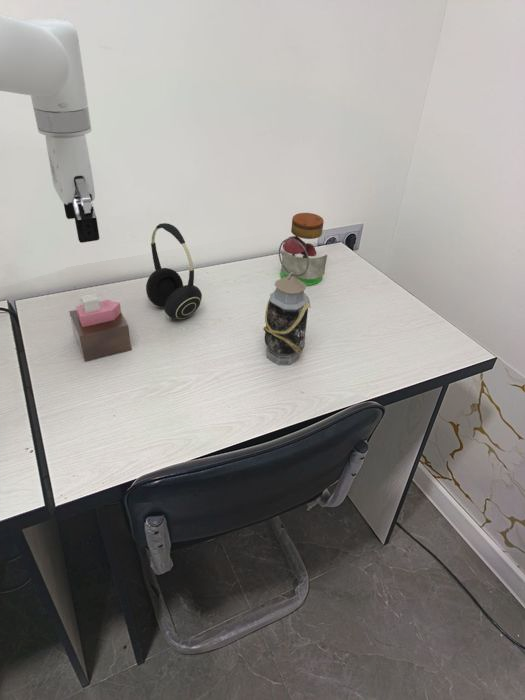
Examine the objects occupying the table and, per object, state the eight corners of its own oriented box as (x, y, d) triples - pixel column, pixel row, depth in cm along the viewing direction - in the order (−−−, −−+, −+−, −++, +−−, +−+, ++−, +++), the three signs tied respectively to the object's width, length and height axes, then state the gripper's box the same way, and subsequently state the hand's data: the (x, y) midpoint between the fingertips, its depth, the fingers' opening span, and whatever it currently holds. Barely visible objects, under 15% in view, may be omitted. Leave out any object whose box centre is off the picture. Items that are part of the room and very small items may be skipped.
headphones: (172, 290, 115) (167, 208, 103) (211, 320, 107) (210, 234, 94) (140, 302, 110) (130, 217, 98) (177, 334, 102) (172, 245, 90)
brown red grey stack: (270, 264, 128) (274, 209, 118) (317, 263, 130) (325, 208, 121) (279, 288, 119) (285, 230, 109) (329, 286, 121) (339, 229, 112)
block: (84, 362, 93) (79, 336, 90) (74, 335, 99) (69, 311, 96) (131, 350, 97) (128, 325, 93) (118, 325, 103) (115, 301, 99)
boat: (82, 327, 92) (77, 305, 89) (77, 316, 94) (73, 295, 91) (124, 318, 95) (121, 296, 92) (118, 307, 98) (115, 287, 95)
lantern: (311, 356, 99) (330, 241, 83) (285, 374, 94) (299, 256, 79) (279, 337, 103) (291, 224, 88) (252, 353, 98) (259, 237, 83)
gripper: (27, 107, 77) (49, 212, 88) (47, 138, 65) (70, 255, 76) (76, 104, 80) (92, 206, 91) (104, 133, 68) (119, 246, 79)
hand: (82, 228), depth 83 cm, fingers open, 9 cm apart
